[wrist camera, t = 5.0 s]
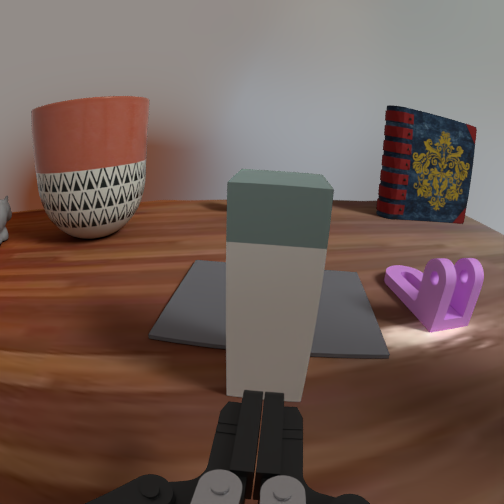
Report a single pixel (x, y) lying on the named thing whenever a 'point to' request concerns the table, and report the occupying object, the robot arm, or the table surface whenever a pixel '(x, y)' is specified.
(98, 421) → the table surface
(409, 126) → the book
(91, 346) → the table surface
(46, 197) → the planter
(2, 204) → the toy rhinoceros
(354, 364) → the table surface
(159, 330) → the rubber mat
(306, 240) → the tall block
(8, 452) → the table surface
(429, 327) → the bracket
